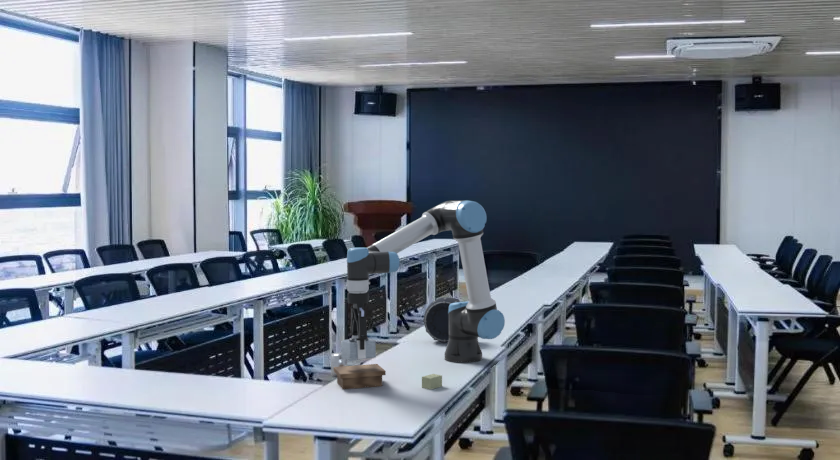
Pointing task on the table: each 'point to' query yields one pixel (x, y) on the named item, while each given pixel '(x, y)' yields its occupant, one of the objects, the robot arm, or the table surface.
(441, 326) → the dark grey drum
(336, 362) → the grey metal can
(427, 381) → the olive painted block
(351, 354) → the housing
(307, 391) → the table surface
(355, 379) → the walnut stand
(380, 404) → the table surface
